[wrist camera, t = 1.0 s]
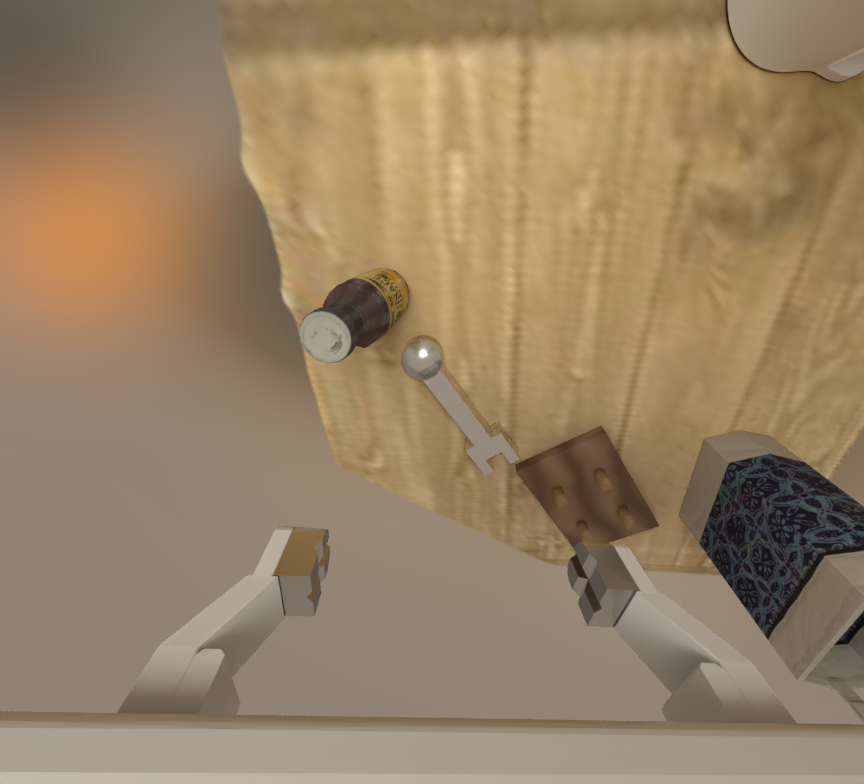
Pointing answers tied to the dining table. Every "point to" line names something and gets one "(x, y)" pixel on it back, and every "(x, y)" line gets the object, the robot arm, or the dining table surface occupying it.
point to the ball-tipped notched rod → (457, 404)
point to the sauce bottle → (354, 315)
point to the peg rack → (587, 490)
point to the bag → (785, 554)
